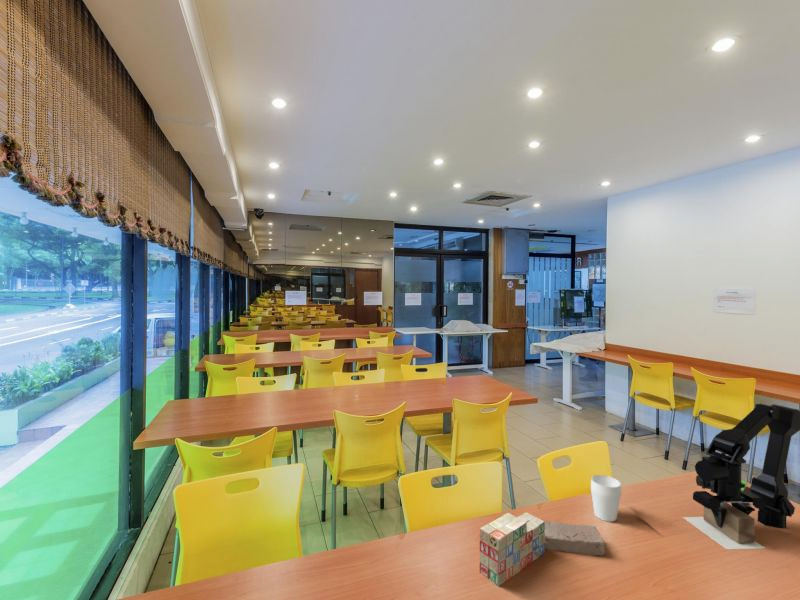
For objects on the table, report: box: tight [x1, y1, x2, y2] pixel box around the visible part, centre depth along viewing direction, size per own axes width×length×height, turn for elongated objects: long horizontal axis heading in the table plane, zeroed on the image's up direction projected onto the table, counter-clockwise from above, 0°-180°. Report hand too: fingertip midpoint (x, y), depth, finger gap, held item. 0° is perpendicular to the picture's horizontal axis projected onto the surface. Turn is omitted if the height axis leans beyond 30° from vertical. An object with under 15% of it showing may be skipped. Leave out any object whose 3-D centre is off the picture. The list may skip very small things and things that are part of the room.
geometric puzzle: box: [741, 478, 750, 491], centre depth 142 cm, size 7×7×8 cm
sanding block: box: [703, 503, 756, 543], centre depth 118 cm, size 5×12×7 cm, turn 3°
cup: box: [590, 474, 622, 523], centre depth 129 cm, size 9×9×12 cm
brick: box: [543, 520, 606, 556], centre depth 114 cm, size 17×8×5 cm, turn 79°
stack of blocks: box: [479, 511, 546, 587], centre depth 106 cm, size 21×6×12 cm, turn 128°
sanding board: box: [682, 516, 766, 550], centre depth 118 cm, size 12×16×2 cm
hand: (727, 526), depth 118 cm, fingers closed on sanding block, 5 cm apart
